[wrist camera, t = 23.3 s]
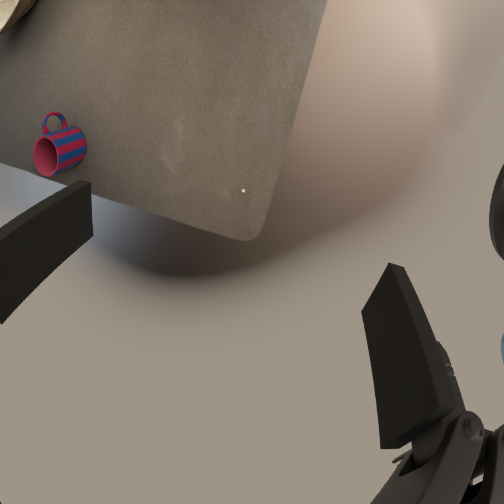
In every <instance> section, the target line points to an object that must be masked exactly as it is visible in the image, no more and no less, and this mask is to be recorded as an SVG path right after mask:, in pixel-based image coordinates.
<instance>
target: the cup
mask: <svg viewBox="0 0 504 504" xmlns="http://www.w3.org/2000/svg"><path fill="white" fill-rule="evenodd" d="M51 115H55V116H57V117H58V118H59V119H60V120H61V123H62V126H63V129H62V130H59V131H56V132H52V133H51V132H50V131H49V130H48V128H47V125H46V122H47V119H48V117H49V116H51ZM42 129H43V132H44V135H43V136H41V137H40V138H38V140H37V141H36V143H35V146H34V151H33V158H34V163H35V166H36V168H37V170H38V172H39V173H40V174H41V175H42V176H44V177H51V176H54V175H56V174H58V173H60V172H62V171H64V170H66V169H68V168H71V167H73V166H75V165H77V164H79V163H80V162H81V161H82V160H83V158H84V156H85V153H86V141H85V138H84V135H83V134H82V132H81V131H80V130H79V129H77V128H75V127H70V128H68V124H67V122H66V119H65V117H64V116H63V115H62V114H61V113H59V112H51V113H49V114H47V115H46V116H45V117H44V118H43V120H42Z"/></svg>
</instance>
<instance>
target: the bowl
mask: <svg viewBox="0 0 504 504" xmlns="http://www.w3.org/2000/svg"><path fill="white" fill-rule="evenodd" d="M36 1H37V0H0V36H1V35H2V34H3V33H4V32H6V31H7V30H8V29H9V28H10V27H12V26H13V25H14V24H15V23H16V22H17V21H18V20H19V19H20V18H21V17H22V16H24V15H25V14H26V13H27V12H28V11H29V10H30V9H31V7H32V6H33V5H34V4H35V3H36Z"/></svg>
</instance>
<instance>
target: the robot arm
mask: <svg viewBox="0 0 504 504" xmlns="http://www.w3.org/2000/svg"><path fill="white" fill-rule="evenodd" d="M92 236H93V225H92V205H91V183H90V182H86V181H81V180H78V181H76V182H75V183H73V184H71V185H69V186H67V187H65V188H63V189H62V190H60V191H58V192H56V193H55V194H53V195H51V196H49V197H48V198H46V199H44V200H43V201H41V202H39V203H38V204H36V205H34V206H33V207H31V208H29V209H28V210H26V211H25V212H23V213H22V214H20V215H18V216H17V217H15V218H14V219H13V220H11V221H9V222H8V223H7V224H5V225H4V226H2V227H1V228H0V323H1V324H3V323H4V322H5V320H6V319H7V318H8V317H9V316H10V315H11V314H12V312H13V311H14V310H15V309H16V308H17V307H18V306H19V305H20V304H21V303H22V302H23V300H25V299H26V298H27V297H28V296H29V295H30V294H31V293H32V292H33V291H34V289H35V288H37V287H38V286H39V285H40V283H42V282H43V280H45V279H46V278H47V277H48V276H49V275H50V274H51V273H52V272H53V271H54V270H55V269H56V268H57V267H58V266H59V265H61V264H62V263H63V262H64V261H65V260H66V259H67V258H68V257H69V256H70V255H71V254H73V253H74V252H75V251H76V250H77V249H78V248H79V247H81V246H82V245H83V244H84V243H85V242H87V241H88V240H89V239H90V238H91V237H92ZM361 313H362V318H363V323H364V328H365V333H366V339H367V344H368V350H369V356H370V362H371V367H372V375H373V381H374V389H375V397H376V405H377V414H378V424H379V433H380V447H381V449H398V448H401V447H403V446H404V445H406V444H407V443H409V442H412V449H410V450H409V451H407V452H405V453H404V454H402V455H400V456H399V457H397V458H395V459H394V460H393V461H392V463H396V462H398V461H399V460H401V459H402V460H401V462H400V464H399V465H397V468H396V470H395V471H394V473H393V474H392V475H391V477H390V478H389V480H388V481H387V482H386V484H385V485H384V486H383V488H382V489H381V491H380V492H379V493H378V494H377V496H376V497H375V498H374V500H373V501H372V502H371V503H370V504H504V425H502V426H500V427H499V428H498V429H496V430H495V431H494V432H492V431H489V430H486V429H484V427H483V424H482V422H481V419H480V418H479V417H478V416H477V415H476V414H475V413H473V412H470V411H466V410H465V406H464V403H463V400H462V396H461V393H460V390H459V386H458V383H457V380H456V377H455V376H454V371H453V368H452V367H451V363H450V360H449V357H448V355H447V352H446V351H445V350H444V348H443V347H442V345H441V344H440V343H439V342H438V341H436V339H435V336H434V334H433V331H432V329H431V327H430V324H429V322H428V319H427V317H426V314H425V312H424V310H423V307H422V305H421V303H420V301H419V298H418V296H417V294H416V292H415V290H414V288H413V285H412V283H411V281H410V279H409V277H408V275H407V273H406V271H405V269H404V267H401V266H398V265H395V264H392V263H388V266H387V267H386V269H385V271H384V273H383V275H382V276H381V278H380V280H379V282H378V284H377V285H376V287H375V289H374V291H373V292H372V294H371V296H370V298H369V299H368V301H367V303H366V304H365V306H364V308H363V310H362V311H361ZM501 354H502V359H503V363H504V334H503V336H502V341H501ZM483 473H484V475H483V481H481V482H479V483H477V484H476V485H473V484H472V483H473V479H474V478H476V477H478V476H480V475H482V474H483ZM0 504H1V502H0Z"/></svg>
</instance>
